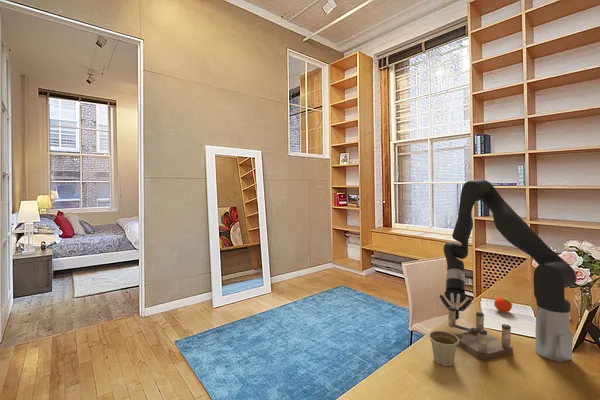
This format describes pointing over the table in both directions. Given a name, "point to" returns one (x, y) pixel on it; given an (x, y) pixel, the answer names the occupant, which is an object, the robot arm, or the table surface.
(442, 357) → the flower pot
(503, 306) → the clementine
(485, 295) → the table surface
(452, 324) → the swing leg
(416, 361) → the table surface
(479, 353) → the stool
